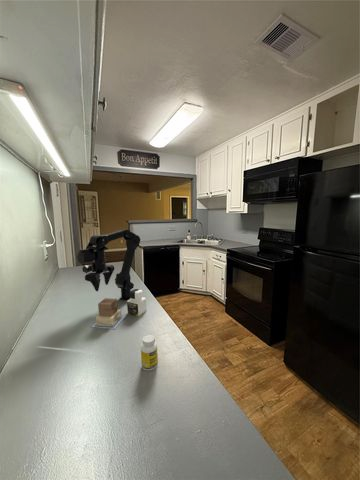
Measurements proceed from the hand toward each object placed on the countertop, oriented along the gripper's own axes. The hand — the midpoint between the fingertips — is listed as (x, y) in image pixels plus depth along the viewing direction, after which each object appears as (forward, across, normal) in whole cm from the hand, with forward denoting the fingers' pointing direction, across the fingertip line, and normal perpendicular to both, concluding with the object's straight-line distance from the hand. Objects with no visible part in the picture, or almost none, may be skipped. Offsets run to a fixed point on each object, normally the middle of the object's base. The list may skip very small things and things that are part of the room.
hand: (102, 287), depth 107 cm
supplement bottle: (+12, +35, +38) cm, 53 cm away
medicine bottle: (+12, +1, +20) cm, 23 cm away
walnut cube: (+8, +12, +10) cm, 17 cm away
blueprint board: (+12, +12, +10) cm, 20 cm away
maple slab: (+12, +12, +10) cm, 19 cm away
